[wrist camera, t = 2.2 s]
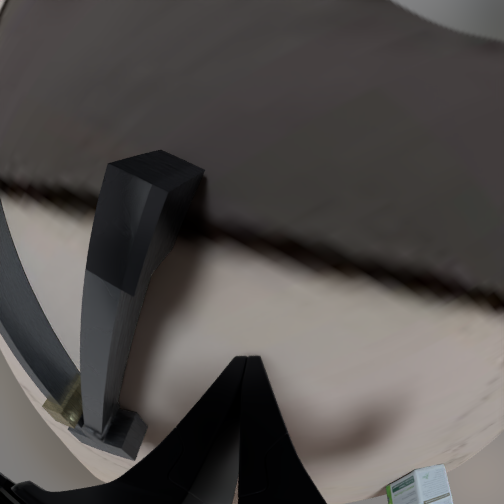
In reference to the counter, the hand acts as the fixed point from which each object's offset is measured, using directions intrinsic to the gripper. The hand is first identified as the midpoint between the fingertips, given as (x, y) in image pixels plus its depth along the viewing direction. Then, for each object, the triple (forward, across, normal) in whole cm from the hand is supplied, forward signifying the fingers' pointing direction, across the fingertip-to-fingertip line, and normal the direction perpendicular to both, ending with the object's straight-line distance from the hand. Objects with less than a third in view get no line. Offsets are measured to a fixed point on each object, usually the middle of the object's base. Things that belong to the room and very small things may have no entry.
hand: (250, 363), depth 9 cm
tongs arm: (+2, +6, +1) cm, 7 cm away
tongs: (+2, +12, 0) cm, 12 cm away
